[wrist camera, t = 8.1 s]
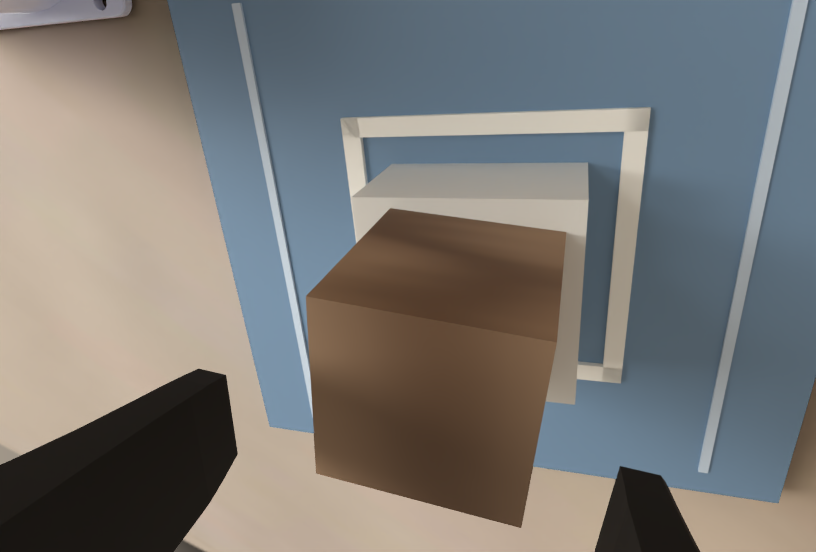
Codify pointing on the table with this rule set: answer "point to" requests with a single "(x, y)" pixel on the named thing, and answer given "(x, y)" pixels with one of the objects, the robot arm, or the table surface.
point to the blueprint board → (547, 143)
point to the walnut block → (436, 360)
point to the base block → (502, 203)
